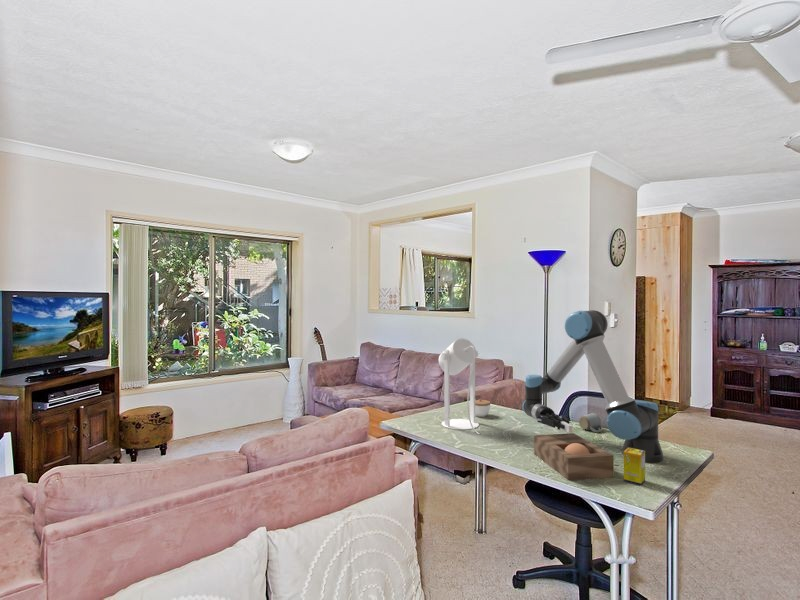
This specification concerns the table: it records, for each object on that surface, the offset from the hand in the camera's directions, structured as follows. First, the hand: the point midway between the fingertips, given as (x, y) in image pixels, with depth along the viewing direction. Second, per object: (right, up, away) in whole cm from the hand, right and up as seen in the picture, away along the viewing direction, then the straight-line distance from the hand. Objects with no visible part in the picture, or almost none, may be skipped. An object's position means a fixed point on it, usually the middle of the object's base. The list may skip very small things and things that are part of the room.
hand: (570, 429), depth 184 cm
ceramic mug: (+28, -14, +47) cm, 57 cm away
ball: (0, -9, -5) cm, 11 cm away
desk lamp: (-35, -14, +55) cm, 66 cm away
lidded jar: (-23, -14, +76) cm, 80 cm away
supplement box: (+17, -14, -16) cm, 28 cm away
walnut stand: (0, -14, +1) cm, 14 cm away
